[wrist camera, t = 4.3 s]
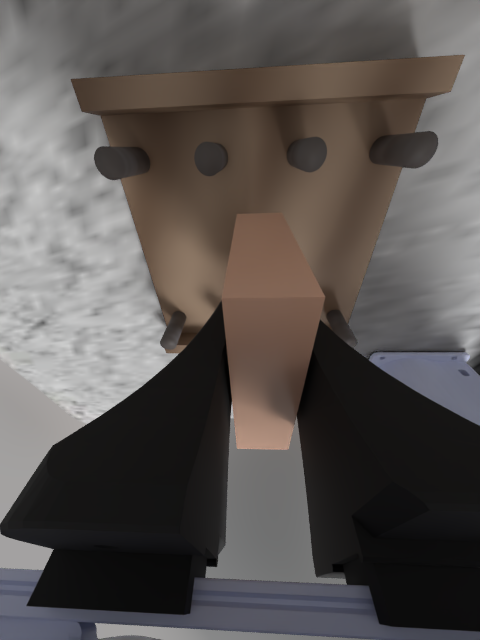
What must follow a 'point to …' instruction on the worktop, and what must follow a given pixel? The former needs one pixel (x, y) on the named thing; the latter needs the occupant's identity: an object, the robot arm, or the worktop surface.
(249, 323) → the pink square slab
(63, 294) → the worktop surface
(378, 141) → the rack
